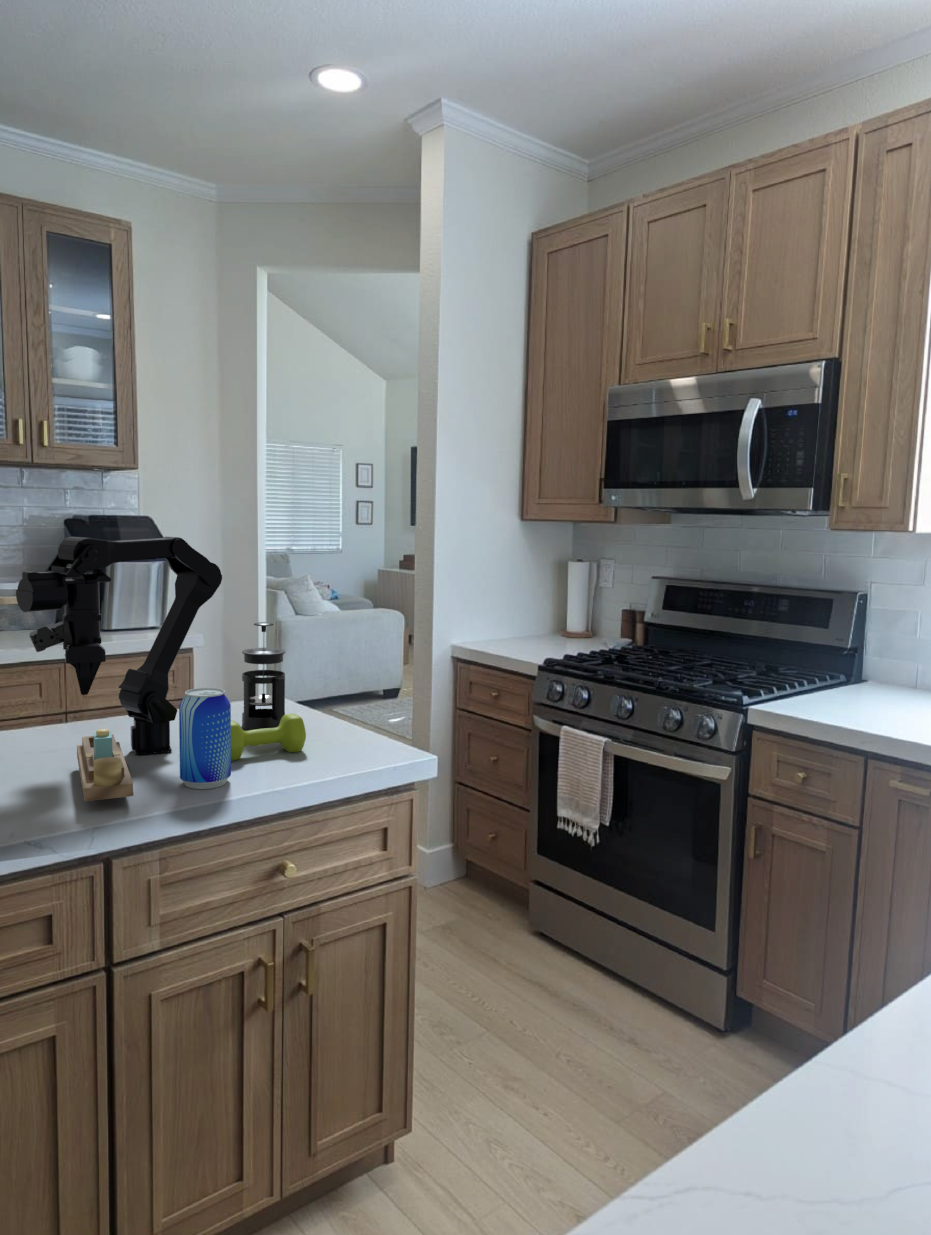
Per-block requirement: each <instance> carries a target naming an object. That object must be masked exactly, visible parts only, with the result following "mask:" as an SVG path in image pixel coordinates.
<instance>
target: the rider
mask: <svg viewBox="0 0 931 1235" xmlns="http://www.w3.org/2000/svg"><path fill="white" fill-rule="evenodd" d="M93 736H94V760H96V759H99V758H104V757H113V751H112V733H111V731H110V729H108V728H103V729H102V728H101V729H97V730H96V731H95V732H93Z"/></svg>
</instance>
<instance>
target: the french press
mask: <svg viewBox="0 0 931 1235" xmlns="http://www.w3.org/2000/svg"><path fill="white" fill-rule="evenodd" d="M274 624H275V623H273V622H270V621H268V622H267V621H260V622H259V621H258V622H255V623H253V626H256V627H258V626H259V627H260V628H261V629H260V630H261V632H262V647H253V648H247V649H243V650H242V652H241V653H242V654H243V659H244V660H243V661H244V663H246V664H250V665H251V664H252V665H262V669H254V670H248V671H244V672H243V673H241V681H242V682H243V712H242V713H241V721H242V723H241V725H240V726H241V728H242V730H244V731H250V730H255V729H263V728H276V727H278V726H279V723H280V721H281V718H282V717H283V716H284V715H286V711H285V710H286V707H285V705H286V701H285V698H286V694H285V693H286V673H285V672H284V671H281V670H276V669H275V670H274V669H265V665H272V664H273V665H275V664H279V663H283V662H284V654H285V653H286V650H284V649H282V648H275V647H265V646H266V645H265V642H266V641H265V637H266V636H265V633H266V632H267V627H269V626H274ZM265 684H266V685H267V684H271V695H270V694H269V695H268V694H266V692H265V690H266V689H265V687H266V685H265ZM256 685H262V693H261V694H260V695H256V693H257V691H256V690H257V689H256V688H257V687H256ZM257 707H271V708H257Z"/></svg>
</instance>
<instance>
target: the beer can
mask: <svg viewBox="0 0 931 1235" xmlns="http://www.w3.org/2000/svg"><path fill="white" fill-rule="evenodd" d="M225 693H226V690H224V689H222V688H217V687H197V688H192V689H191V688H190V689H188V690H186V691H185V692H184V696H183V698H182V700H181V701H180V703H179V705H178V706H179V707H178V713H179V714H178V716H179V717H178V720H179V722H178V725H179V726H178V728H179V729H178V730H179V733H178V734H179V778H180V780H181V781H182V782H183V785H184V786H185V787H187V788H188V789H194V790H195V789H196V790H211V789H216V788H219V787H222V786H224V785H226V783H227V781H228V779H229V778H230V777H231V774H232V761H231V720H232V719H231V718H232V716H231V715H232V714H231V712H232V707H231V702H230V700H229V698H228V697H227V695H226V694H225Z"/></svg>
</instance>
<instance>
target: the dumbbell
mask: <svg viewBox="0 0 931 1235" xmlns="http://www.w3.org/2000/svg"><path fill="white" fill-rule="evenodd" d="M241 726H242V725H240V724H239V723H238V722H236V721H235V720H233V719H231V762H234V761H237V760H240V759H241V757H242V755H243V752H244V748H246V747H257V746H265V745H270V744H277V743H279V744H280V746H281V748H282V749H283V750H285V751H286V752H288V753H291V752H294V753H300V752H301V751H302V750H303V749H304V746H305V743H306V739H307V732H306V731H307V730H306V727H305V722H304V719H303V718H302V716H299V715H298V714H296V713H285V715H284V716H283V717H282V718H281V721H280V723H279V726H278V727H276V728H263V729H255V730H250V731H244V730H242V728H241ZM299 751H300V752H299Z"/></svg>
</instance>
